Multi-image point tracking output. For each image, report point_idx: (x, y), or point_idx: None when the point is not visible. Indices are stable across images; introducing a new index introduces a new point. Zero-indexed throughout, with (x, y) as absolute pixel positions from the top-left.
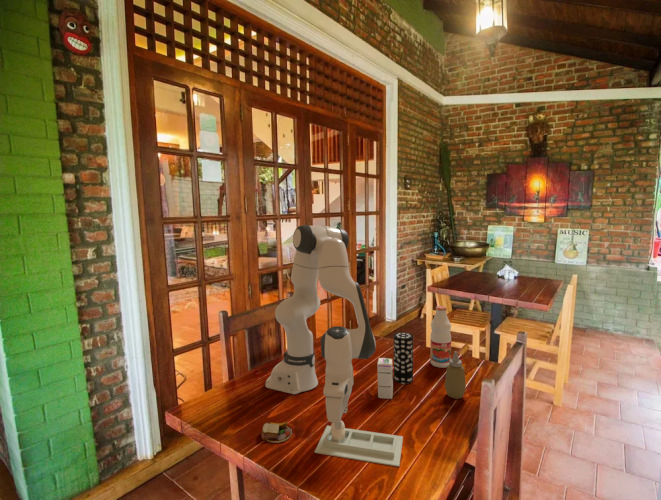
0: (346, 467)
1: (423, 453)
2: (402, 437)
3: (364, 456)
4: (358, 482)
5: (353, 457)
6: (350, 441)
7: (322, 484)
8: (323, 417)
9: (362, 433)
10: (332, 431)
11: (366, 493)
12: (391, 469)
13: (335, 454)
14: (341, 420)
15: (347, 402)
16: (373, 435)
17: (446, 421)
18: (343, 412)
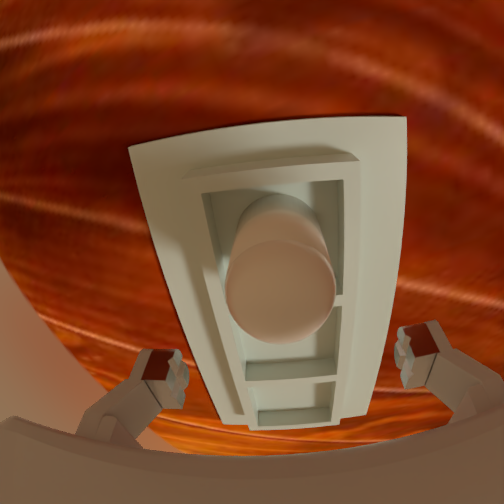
0: (130, 312)
1: (302, 444)
2: (360, 415)
3: (213, 358)
4: (102, 352)
5: (186, 328)
6: None
7: (27, 261)
8: (476, 73)
9: (339, 345)
10: (234, 251)
11: (88, 369)
12: (203, 410)
13: (162, 258)
14: (303, 337)
15: (449, 407)
16: (331, 380)
17: None
18: (399, 337)
